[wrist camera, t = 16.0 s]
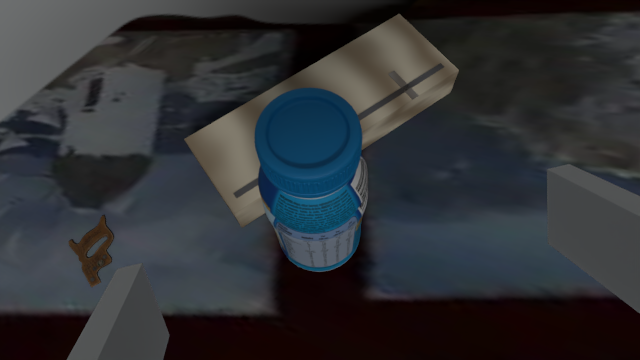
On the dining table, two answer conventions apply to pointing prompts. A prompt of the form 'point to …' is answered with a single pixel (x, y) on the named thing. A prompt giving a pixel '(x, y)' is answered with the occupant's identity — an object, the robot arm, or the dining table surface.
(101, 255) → the brown irregular slotted piece
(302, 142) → the beverage bottle
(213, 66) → the dining table surface
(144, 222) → the dining table surface
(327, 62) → the birch board
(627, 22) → the dining table surface
